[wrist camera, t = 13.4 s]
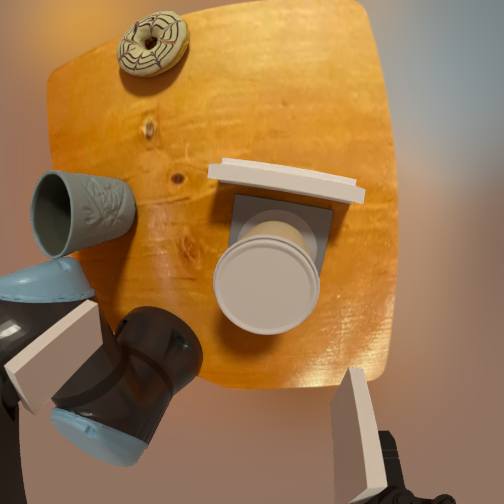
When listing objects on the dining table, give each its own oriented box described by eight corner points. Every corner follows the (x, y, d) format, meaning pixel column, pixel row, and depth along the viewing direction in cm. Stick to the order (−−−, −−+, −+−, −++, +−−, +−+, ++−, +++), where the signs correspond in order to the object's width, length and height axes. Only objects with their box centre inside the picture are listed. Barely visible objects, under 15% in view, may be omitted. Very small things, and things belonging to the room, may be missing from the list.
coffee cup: (260, 296, 37) (245, 350, 26) (223, 235, 35) (190, 268, 24) (325, 265, 34) (337, 313, 23) (290, 199, 33) (287, 216, 21)
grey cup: (136, 166, 34) (68, 158, 23) (145, 240, 36) (78, 255, 24) (88, 184, 37) (26, 183, 26) (96, 248, 38) (35, 262, 27)
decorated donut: (143, 18, 28) (131, 8, 24) (205, 21, 28) (196, 9, 24) (116, 75, 31) (102, 70, 28) (176, 84, 31) (164, 77, 27)
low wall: (350, 203, 32) (361, 211, 27) (221, 181, 34) (206, 185, 28) (354, 179, 31) (367, 182, 26) (224, 157, 33) (209, 156, 27)
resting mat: (313, 298, 37) (313, 300, 36) (225, 282, 38) (224, 284, 37) (333, 210, 33) (333, 210, 32) (235, 193, 34) (234, 194, 33)
